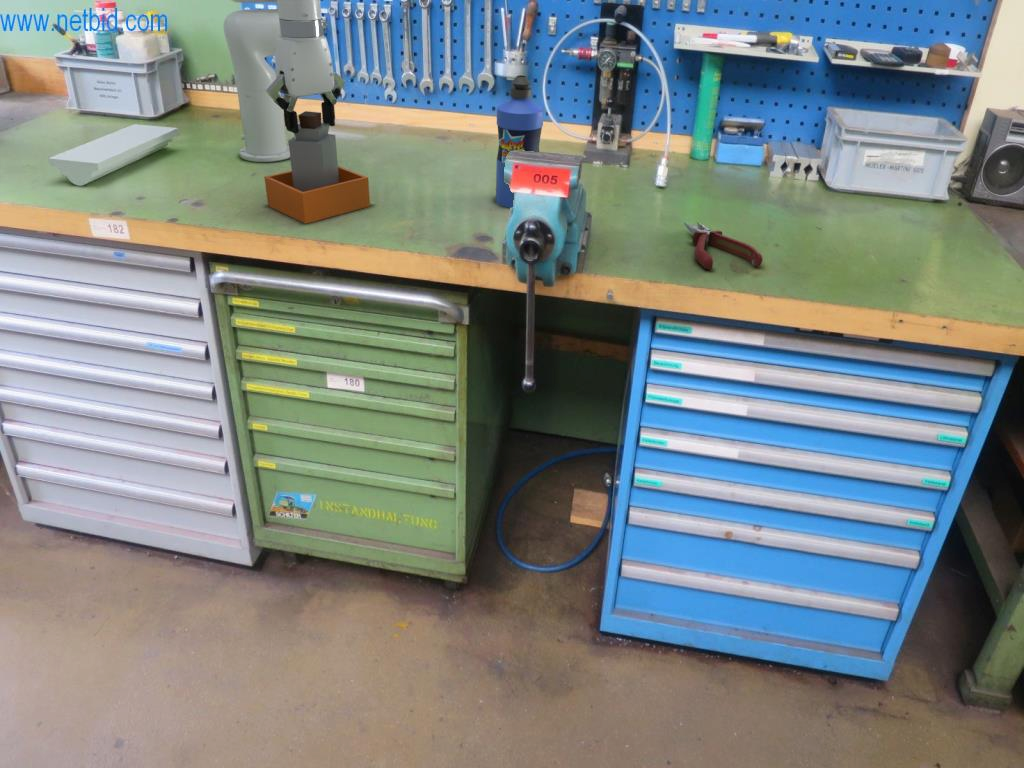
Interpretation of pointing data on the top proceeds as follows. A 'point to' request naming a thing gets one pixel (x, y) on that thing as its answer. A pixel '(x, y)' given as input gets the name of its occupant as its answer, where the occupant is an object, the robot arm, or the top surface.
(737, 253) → the pliers
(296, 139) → the perfume bottle
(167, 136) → the shelf
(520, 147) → the water bottle
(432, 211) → the top surface
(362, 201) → the box
